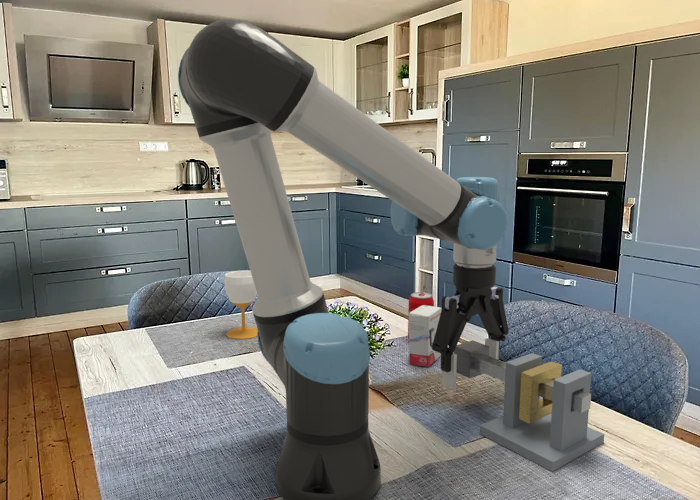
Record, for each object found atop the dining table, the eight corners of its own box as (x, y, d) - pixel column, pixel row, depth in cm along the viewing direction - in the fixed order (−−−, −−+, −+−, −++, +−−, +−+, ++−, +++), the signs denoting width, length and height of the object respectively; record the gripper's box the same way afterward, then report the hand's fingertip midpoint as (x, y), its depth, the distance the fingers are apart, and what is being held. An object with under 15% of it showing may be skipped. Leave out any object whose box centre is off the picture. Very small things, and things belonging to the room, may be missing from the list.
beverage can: (405, 344, 137) (406, 296, 135) (410, 336, 143) (411, 290, 141) (430, 346, 136) (432, 298, 134) (434, 338, 141) (435, 292, 139)
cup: (268, 331, 147) (266, 272, 144) (244, 341, 140) (242, 279, 137) (243, 326, 152) (240, 268, 149) (218, 335, 144) (215, 275, 142)
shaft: (575, 423, 84) (578, 392, 83) (453, 371, 104) (454, 345, 103) (594, 414, 87) (596, 383, 86) (471, 365, 106) (472, 340, 106)
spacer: (529, 423, 89) (532, 376, 87) (519, 418, 90) (521, 372, 89) (558, 409, 93) (561, 364, 92) (548, 405, 95) (551, 361, 94)
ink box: (428, 368, 122) (429, 316, 120) (407, 364, 124) (407, 313, 122) (442, 355, 129) (443, 306, 127) (421, 352, 132) (422, 304, 130)
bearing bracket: (552, 471, 83) (557, 392, 80) (479, 433, 94) (482, 363, 92) (603, 442, 91) (609, 370, 88) (530, 410, 102) (534, 345, 100)
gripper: (443, 276, 90) (440, 403, 94) (532, 259, 104) (526, 371, 107) (412, 268, 96) (410, 388, 100) (499, 253, 110) (495, 359, 113)
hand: (470, 379), depth 104 cm, fingers open, 11 cm apart
